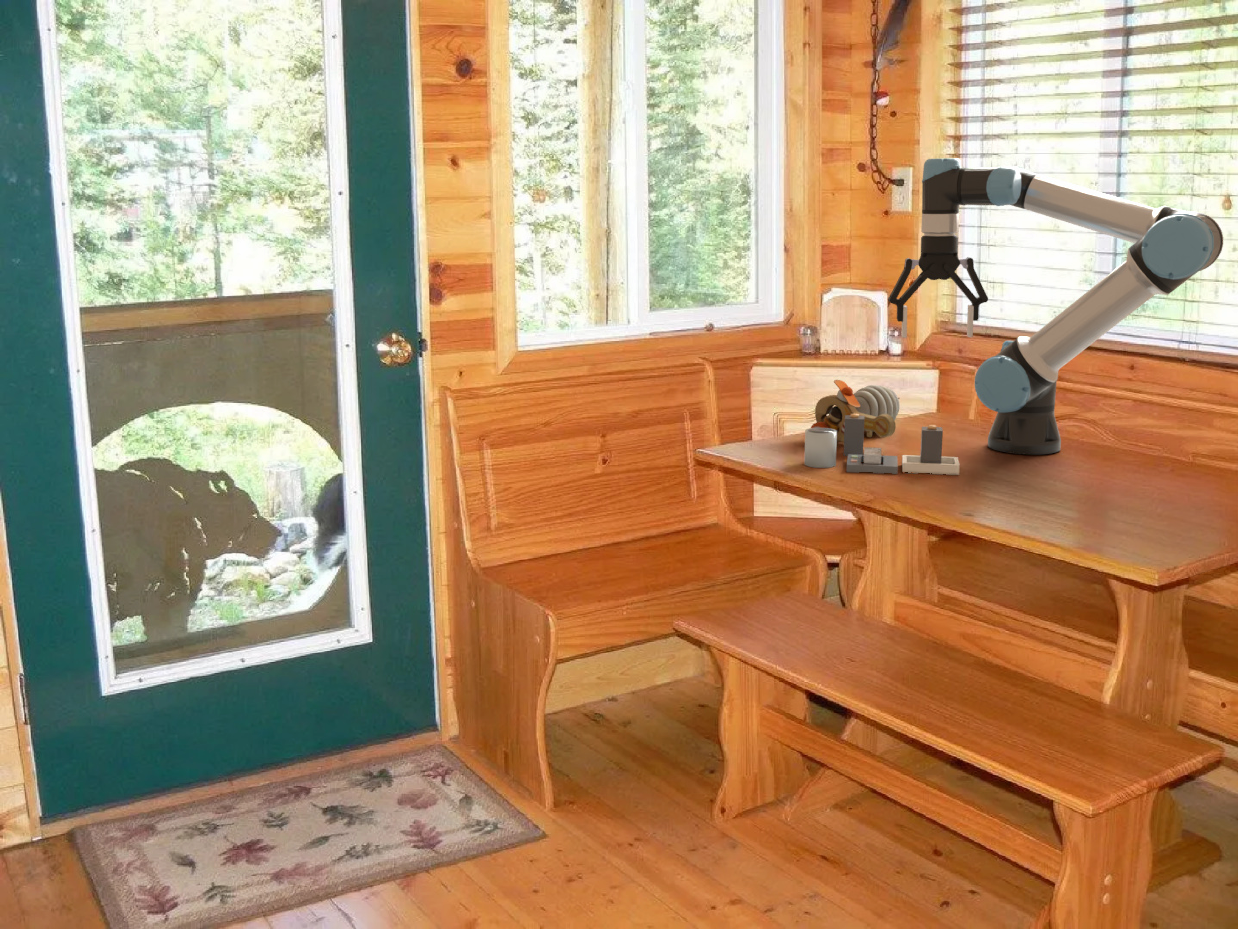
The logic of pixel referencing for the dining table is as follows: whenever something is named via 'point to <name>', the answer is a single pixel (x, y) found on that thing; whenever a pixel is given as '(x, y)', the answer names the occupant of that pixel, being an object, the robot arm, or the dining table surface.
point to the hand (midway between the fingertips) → (936, 336)
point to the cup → (820, 447)
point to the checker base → (888, 465)
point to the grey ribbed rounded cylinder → (877, 402)
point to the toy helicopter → (846, 406)
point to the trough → (930, 465)
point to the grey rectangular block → (872, 456)
